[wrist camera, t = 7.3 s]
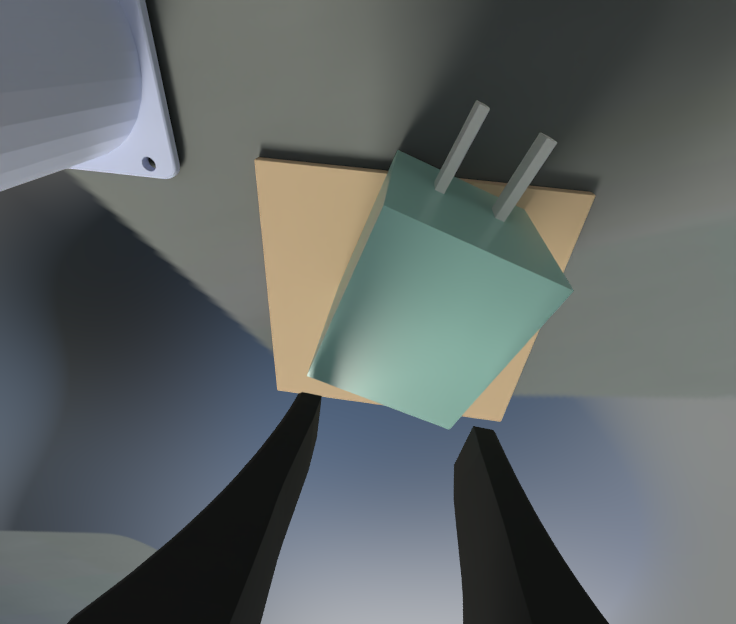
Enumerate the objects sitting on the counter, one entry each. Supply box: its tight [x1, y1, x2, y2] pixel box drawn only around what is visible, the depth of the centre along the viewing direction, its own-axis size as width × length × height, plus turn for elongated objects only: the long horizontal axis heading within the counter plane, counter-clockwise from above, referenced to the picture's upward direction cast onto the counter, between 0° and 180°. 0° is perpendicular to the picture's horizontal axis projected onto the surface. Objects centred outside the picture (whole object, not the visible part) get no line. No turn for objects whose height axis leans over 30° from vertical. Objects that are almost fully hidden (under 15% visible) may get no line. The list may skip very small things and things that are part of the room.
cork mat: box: [255, 157, 595, 421], centre depth 17 cm, size 12×12×1 cm
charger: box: [307, 100, 574, 429], centre depth 12 cm, size 5×8×6 cm, turn 158°
